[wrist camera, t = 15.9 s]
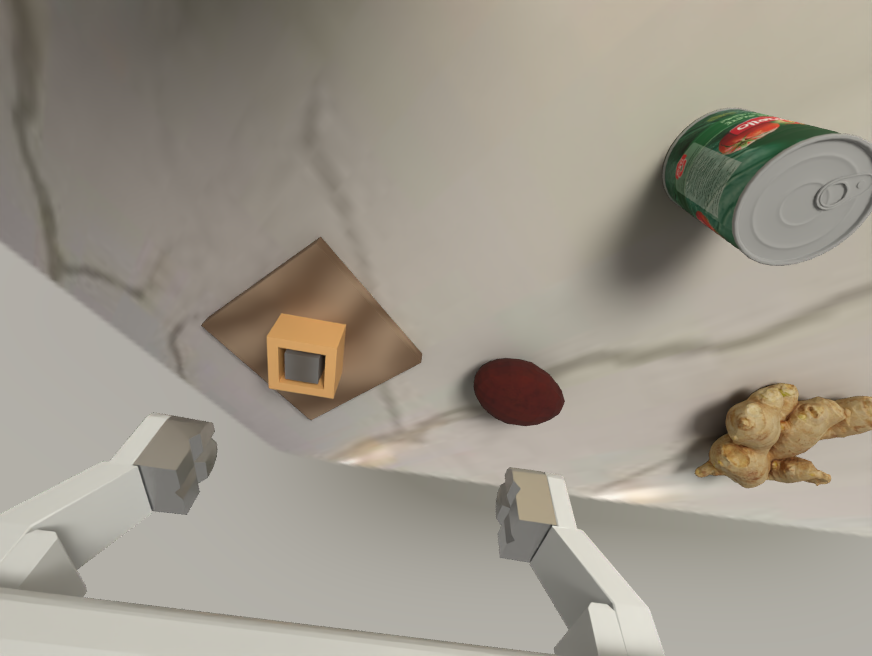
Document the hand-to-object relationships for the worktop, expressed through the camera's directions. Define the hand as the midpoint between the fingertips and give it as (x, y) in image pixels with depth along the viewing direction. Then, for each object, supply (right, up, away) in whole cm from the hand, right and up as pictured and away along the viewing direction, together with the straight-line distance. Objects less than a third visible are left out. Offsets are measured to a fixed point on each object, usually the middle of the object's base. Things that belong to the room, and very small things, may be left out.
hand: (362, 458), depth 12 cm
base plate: (-11, +3, +34) cm, 35 cm away
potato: (+11, -1, +36) cm, 37 cm away
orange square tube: (-11, +2, +32) cm, 34 cm away
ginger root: (+39, -7, +38) cm, 55 cm away
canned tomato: (+24, +17, +23) cm, 38 cm away
